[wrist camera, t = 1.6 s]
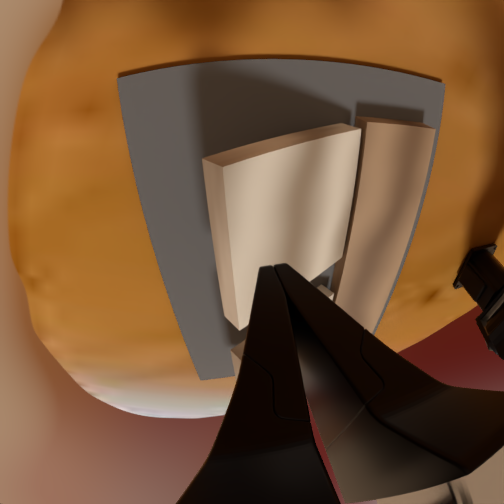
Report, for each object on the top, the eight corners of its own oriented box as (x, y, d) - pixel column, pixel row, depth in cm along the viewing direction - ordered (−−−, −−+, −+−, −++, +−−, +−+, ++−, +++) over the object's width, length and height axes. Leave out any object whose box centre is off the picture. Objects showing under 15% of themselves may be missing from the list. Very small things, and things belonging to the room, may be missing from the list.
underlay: (441, 82, 15) (445, 84, 15) (367, 344, 35) (368, 346, 35) (118, 78, 13) (116, 78, 12) (200, 377, 33) (200, 380, 32)
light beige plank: (341, 123, 16) (361, 128, 15) (327, 248, 22) (342, 257, 22) (201, 158, 11) (222, 167, 10) (224, 315, 18) (239, 330, 17)
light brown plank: (422, 122, 17) (435, 129, 16) (362, 335, 32) (366, 344, 31) (355, 116, 16) (367, 122, 15) (316, 346, 32) (320, 356, 31)
